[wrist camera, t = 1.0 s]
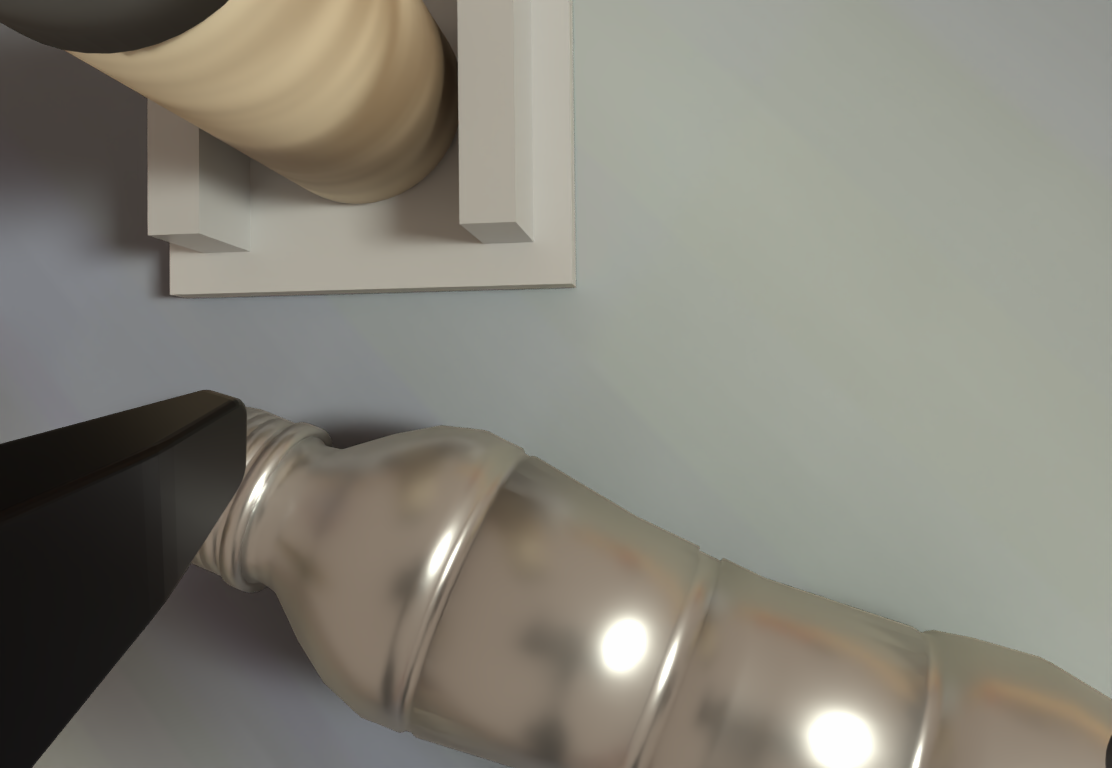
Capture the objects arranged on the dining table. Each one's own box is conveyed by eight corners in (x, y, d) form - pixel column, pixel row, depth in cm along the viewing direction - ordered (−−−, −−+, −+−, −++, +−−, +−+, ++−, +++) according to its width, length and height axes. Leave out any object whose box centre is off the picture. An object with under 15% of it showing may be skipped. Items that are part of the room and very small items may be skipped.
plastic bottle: (1008, 898, 22) (261, 561, 25) (1145, 652, 20) (324, 325, 24) (1090, 1168, 16) (88, 676, 19) (1296, 847, 14) (156, 368, 17)
